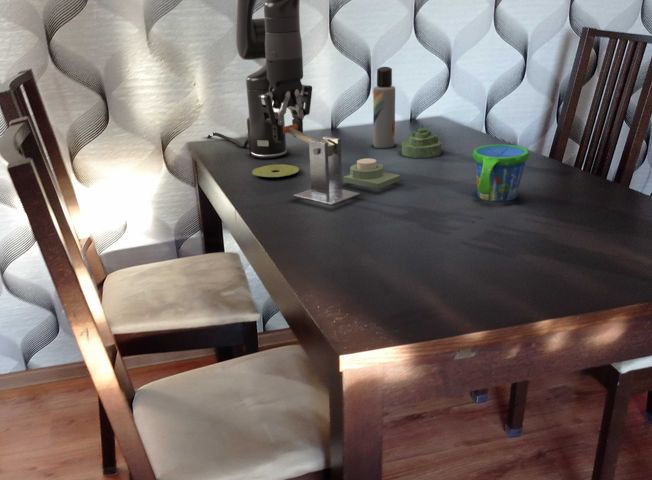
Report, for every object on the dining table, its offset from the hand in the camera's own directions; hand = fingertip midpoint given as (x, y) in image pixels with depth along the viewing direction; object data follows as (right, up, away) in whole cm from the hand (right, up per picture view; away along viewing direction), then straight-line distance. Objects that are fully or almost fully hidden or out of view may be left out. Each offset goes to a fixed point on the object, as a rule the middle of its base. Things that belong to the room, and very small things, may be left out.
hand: (288, 139), depth 151 cm
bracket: (+8, -13, -1) cm, 16 cm away
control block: (+19, -8, +7) cm, 22 cm away
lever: (+4, -2, -3) cm, 5 cm away
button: (+18, -5, +6) cm, 19 cm away
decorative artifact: (+34, +5, +30) cm, 46 cm away
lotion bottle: (+25, +10, +39) cm, 47 cm away
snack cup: (+43, -15, -7) cm, 46 cm away
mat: (-3, -5, +16) cm, 17 cm away
